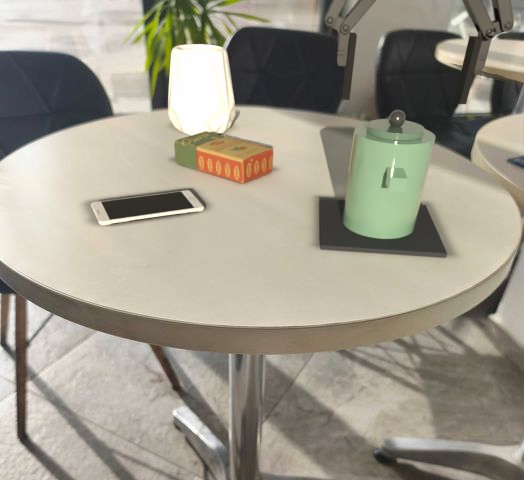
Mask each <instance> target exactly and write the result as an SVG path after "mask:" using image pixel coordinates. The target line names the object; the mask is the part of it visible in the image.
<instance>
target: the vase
mask: <svg viewBox="0 0 524 480" xmlns="http://www.w3.org/2000/svg"><path fill="white" fill-rule="evenodd" d="M230 67H231V66H230V60H229V55H228V51H227V50H226V48H225V47H222V46H220V45H214V44H205V43H197V44H196V43H195V44H193V43H190V44H180V45H175V46H174V47H173V48H172V49H171V52H170V63H169V75H168V76H169V77H168V91H167V92H168V93H167V94H168V96H167V114H168V118H169V119H170V121H171V125H173V127H174V128H175V129H176V130H177V131H178V132H181V133H183V134H184V135H187V136H191V135H195V134H198V133H201V132H204V131H207V132H210V133H213V134H217V135H222V134H224V133H225V132H226V131H227V130H228V129H230V127H231V126H232V124H233V122H234V119H235V117H236V101H235V95H234V88H233V81H232V80H233V79H232V74H231V68H230Z"/></svg>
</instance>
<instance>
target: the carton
mask: <svg viewBox="0 0 524 480" xmlns="http://www.w3.org/2000/svg"><path fill="white" fill-rule="evenodd" d="M173 149H174V158H175V163H176V164H177V165H181V166H183V167H186V168H187V167H188V168H191V169H194V170H195V171H200V172H204V173H207V174H210V175H212V176H217V177H220V178H222V179H226V180H229V181H232V182H237V183H238V184H239V183H240V184H245V183H247V182H250V181H253V180H255V179H259V178H261V177H263V176H266V175H269V174H270V173H272V172H273V170H274V169H273V168H274V148H272V147H269V146H265V145H262V144H257V143H253V142H248V141H245V140H241V139H237V138H233V137H230V136H226V135H222V134H218V135H217V134H213V133H210V132H207V131H204V132H201V133H198V134H195V135H187V136H185V137H182V138H179V139H176V140H174V142H173Z"/></svg>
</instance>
